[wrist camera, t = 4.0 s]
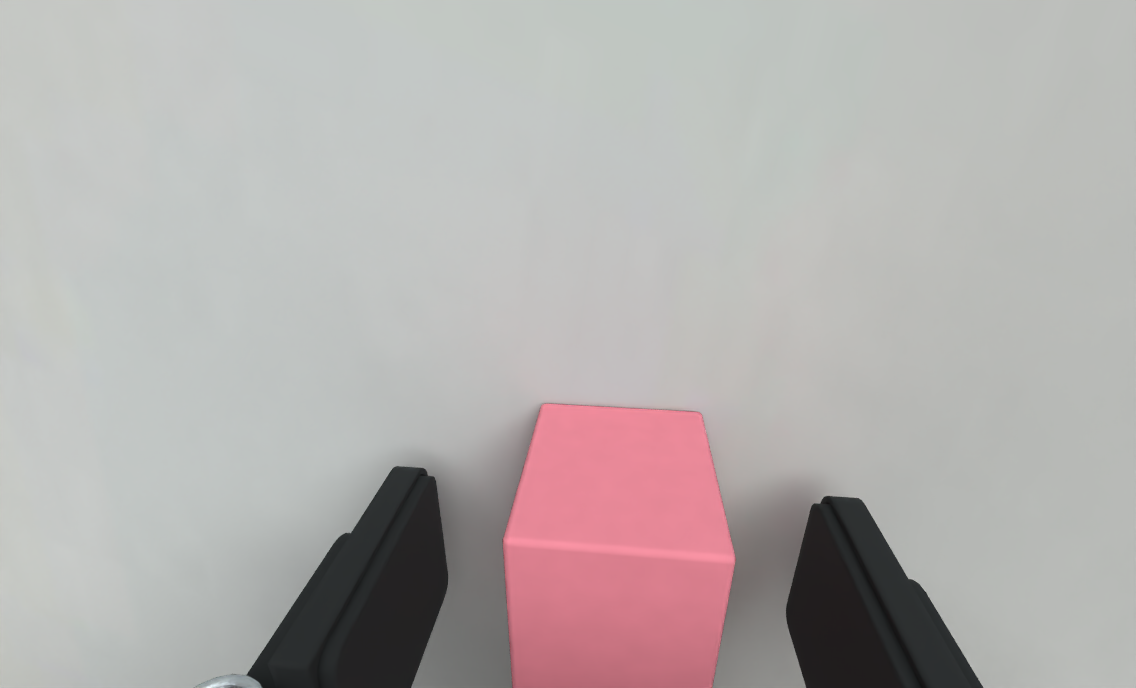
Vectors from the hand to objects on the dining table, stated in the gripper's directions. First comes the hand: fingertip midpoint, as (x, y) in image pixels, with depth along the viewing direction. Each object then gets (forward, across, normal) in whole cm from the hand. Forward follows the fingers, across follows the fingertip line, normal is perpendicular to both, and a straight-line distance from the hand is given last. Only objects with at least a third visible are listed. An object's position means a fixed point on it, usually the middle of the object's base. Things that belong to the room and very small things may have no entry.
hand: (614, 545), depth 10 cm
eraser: (+1, 0, 0) cm, 1 cm away
